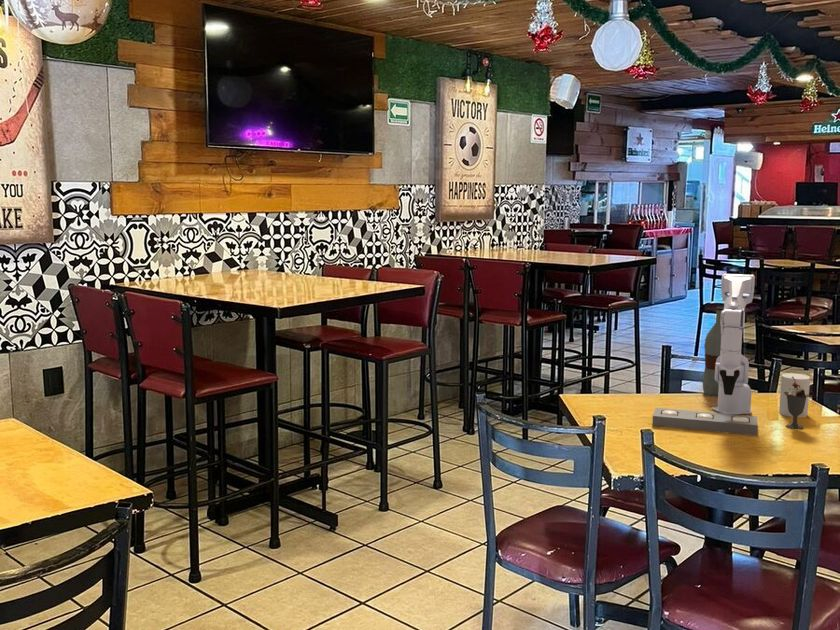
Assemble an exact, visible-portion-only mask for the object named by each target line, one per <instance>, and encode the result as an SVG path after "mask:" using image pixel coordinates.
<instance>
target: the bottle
mask: <svg viewBox="0 0 840 630" xmlns="http://www.w3.org/2000/svg"><path fill="white" fill-rule="evenodd" d="M723 310H724V306H717V307H716V312H715V313H716V314H715V322H714V324H713V325H712V327H711V328H710V329H709V331H708V332H707V333H706V336H705V339H704V344H703V345H704V370H703V374H702V375H703V376H702V389H703V393H704V394H705V395H708V396H711V397H712V396H713V397H718V391H719V384H718V382H716V381H715V366H716V360H717V358H718V357H719V356H720V350H721V336H722V334H721V325H720V319H721V311H722V312H723ZM718 381H719V380H718Z"/></svg>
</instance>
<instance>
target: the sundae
mask: <svg viewBox="0 0 840 630" xmlns="http://www.w3.org/2000/svg"><path fill="white" fill-rule="evenodd" d="M792 378H793V379H794V377H792ZM794 381H795V379H794ZM784 394H785V395H786V396H787V403H788V411H789V412H790V414H791V415H792V416H793V417H792V422H791V423H790V424H786V425H785V427H786V428H787V429H789V428H790V429H791V430H795V429H801V430H803V429H804V426H803V425H799V423H798V418H799V417H798V416H799V415H801V414H802V413H803V410H804V406H805V402H806V398H807V397H808V396H810V394H809V395H807V394H806V393H805V391H804V390H803V388H802V387H801V386H800V385H798V384H797V383H793V384H792V387H791V388H790V389H789V391H788V392H784Z"/></svg>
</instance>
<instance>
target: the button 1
mask: <svg viewBox="0 0 840 630" xmlns="http://www.w3.org/2000/svg"><path fill="white" fill-rule="evenodd" d="M662 415H673V416H677V412H675V411H668V410H667V411H662Z"/></svg>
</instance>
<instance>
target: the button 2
mask: <svg viewBox="0 0 840 630" xmlns="http://www.w3.org/2000/svg"><path fill="white" fill-rule="evenodd" d="M733 421H740V422H749V419H748V418H745V417H733Z"/></svg>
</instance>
